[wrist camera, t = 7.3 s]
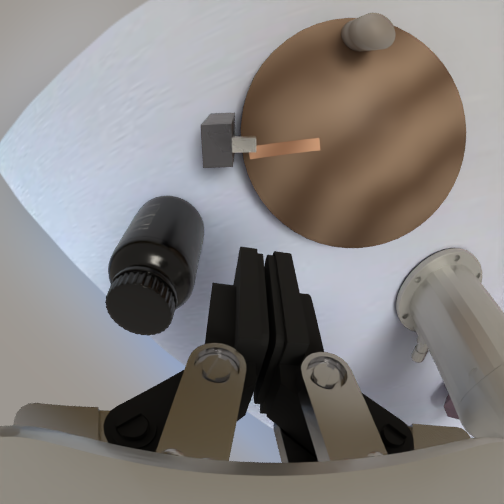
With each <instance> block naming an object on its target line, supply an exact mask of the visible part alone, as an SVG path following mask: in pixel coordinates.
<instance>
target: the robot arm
mask: <svg viewBox="0 0 504 504" xmlns="http://www.w3.org/2000/svg"><path fill="white" fill-rule="evenodd" d="M481 282H482V269H481V265H480V263H479V261H478V260H477V258H476V257H475V256H474V255H473V254H472V253H470V252H469V251H467V250H464V249H461V248H452V249H446V250H443V251H440V252H437V253H435V254H433V255H432V256H430V257H428V258H427V259H425V260H424V261H423V262H421V263H420V264H419V265H418V266H417V267H416V268H415V269H414V270H413V271H412V272H411V273H410V274H409V276H408V277H407V278H406V280H405V281H404V283H403V285H402V286H401V288H400V291H399V293H398V296H397V301H396V311H397V314H398V317H399V319H400V321H401V323H402V324H403V325H404V326H405V327H406V328H407V329H409V330H411V331H414V332H416V333H417V335H418V338H417V343H418V344H417V345H416V347H415V349H414V351H413V353H412V356H411V357H412V360H413V361H415V362H417V363H420V362H422V361H423V360H424V358H425V356H426V354H427V352H428V349H429V351H430V353H431V356H432V358H433V360H434V362H435V364H436V366H437V368H438V371H439V373H440V375H441V377H442V379H443V382H444V384H445V386H446V388H447V391H448V393H449V395H450V398H451V400H452V402H453V405H454V407H455V410H456V412H457V414H458V417H459V419H460V421H461V423H462V425H463V427H464V428H465V430H466V431H467V432H468V433H469V434H470V435H472V436H473V437H475V438H470V436H469V435H468V433H467V432H466V431H465V430H463V429H462V428H458V427H446V426H432V425H421V424H412V425H411V426H407V425H406V424H405V423H404V422H403V421H402V420H400V419H399V418H397V417H396V416H394V415H393V414H392V413H390V412H389V411H387V410H386V409H384V408H383V407H381V406H380V405H378V404H377V403H376V402H374V401H373V400H371V399H370V398H368V397H367V396H366V395H364V394H363V393H361V391H360V388H359V386H358V384H357V382H356V379H355V377H354V375H353V373H352V370H351V369H350V367H349V366H348V364H347V363H346V362H345V361H344V360H343V359H342V358H340V357H338V356H336V355H334V354H331V353H328V352H324V349H323V345H322V341H321V336H320V332H319V328H318V323H317V319H316V315H315V311H314V307H313V303H312V299H311V296H310V295H309V294H301V293H299V288H298V283H297V279H296V274H295V269H294V265H293V260H292V255H291V254H290V253H283V252H276V251H274V253H273V255H267V257H266V261H265V266H264V260H263V254H258V253H257V249H254V248H247V247H240V251H239V256H238V262H237V268H236V273H235V279H234V285H226V284H219V283H213V285H212V292H211V300H210V308H209V316H208V324H207V332H206V340H205V344H204V345H202V346H199V347H197V348H196V349H195V350H194V351H193V352H192V353H191V355H190V356H189V359H188V361H187V364H186V367H185V370H183V371H181V372H179V373H178V374H176V375H174V376H172V377H170V378H169V379H167V380H165V381H163V382H161V383H160V384H158V385H157V386H154V387H152V388H150V389H149V390H147V391H145V392H143V393H141V394H139V395H137V396H136V397H134V398H132V399H130V400H128V401H126V402H124V403H122V404H120V405H118V406H117V407H115V408H114V409H112V410H111V411H103V410H99V408H98V407H80V406H64V405H52V404H41V403H32V404H31V403H30V404H27V405H25V406H23V407H21V409H20V410H19V411H18V412H17V414H16V416H15V419H14V425H12V426H0V504H504V313H503V311H502V310H501V308H500V307H499V306H498V304H497V303H496V302H495V300H494V299H493V298H492V297H491V295H490V294H489V293H488V291H487V290H486V289H485V288H484V286H483V285H482V284H481ZM253 392H254V403H255V404H260V413H264V414H267V417H268V418H269V419H270V420H272V421H273V422H274V432H275V437H276V441H277V445H278V449H279V453H280V457H281V461H282V463H258V462H257V463H255V462H236V461H229V457H230V452H231V447H232V442H233V437H234V432H235V427H236V422H237V421H238V420H239V419H241V418H242V417H243V416H245V414H246V411H247V408H248V405H249V403H250V401H251V398H252V395H253Z"/></svg>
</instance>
